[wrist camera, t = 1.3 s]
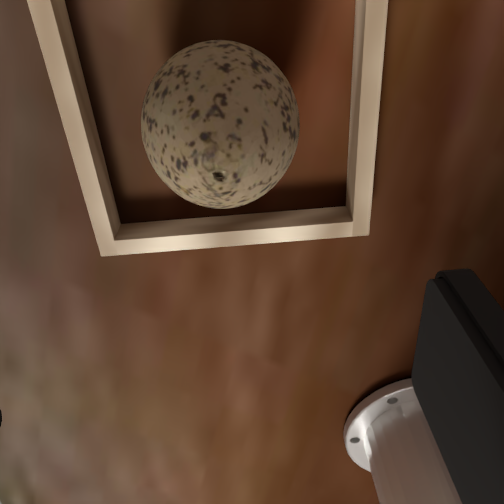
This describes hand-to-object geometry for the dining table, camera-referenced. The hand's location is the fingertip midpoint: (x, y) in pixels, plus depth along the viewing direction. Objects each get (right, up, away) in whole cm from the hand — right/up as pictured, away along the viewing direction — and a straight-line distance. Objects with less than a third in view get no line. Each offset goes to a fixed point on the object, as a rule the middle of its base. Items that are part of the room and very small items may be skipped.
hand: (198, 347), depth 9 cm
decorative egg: (-1, +10, +16) cm, 19 cm away
